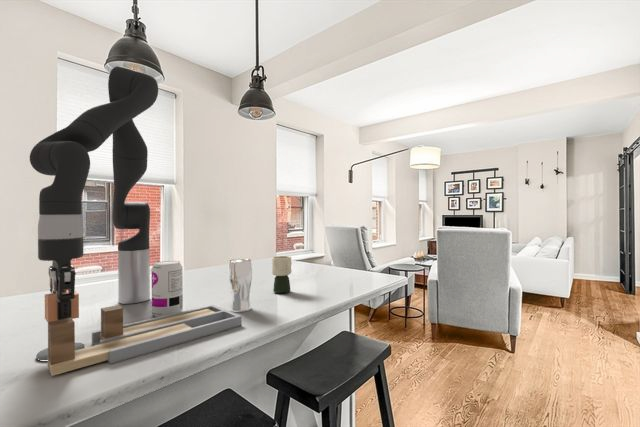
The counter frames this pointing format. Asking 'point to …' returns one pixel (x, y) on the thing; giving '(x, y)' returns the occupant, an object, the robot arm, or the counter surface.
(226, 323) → the lane frame
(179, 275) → the supplement can
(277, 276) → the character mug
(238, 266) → the beer glass
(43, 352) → the slate coaster
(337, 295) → the counter surface
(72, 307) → the rust cube
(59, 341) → the oak strip
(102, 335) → the oak strip
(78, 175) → the robot arm
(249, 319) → the counter surface
